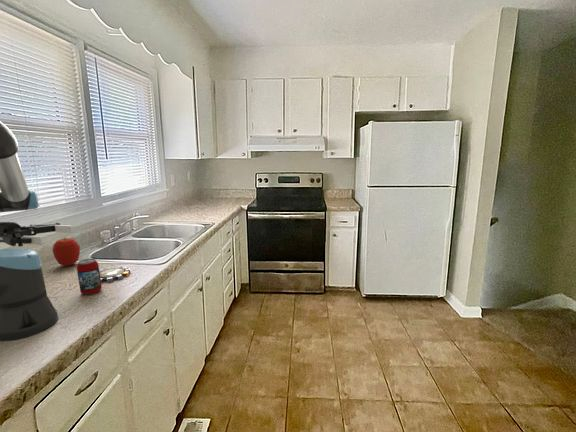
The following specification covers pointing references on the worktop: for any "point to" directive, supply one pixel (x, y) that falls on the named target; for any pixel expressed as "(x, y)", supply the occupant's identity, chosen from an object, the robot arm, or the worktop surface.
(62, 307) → the worktop surface
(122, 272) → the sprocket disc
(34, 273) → the robot arm
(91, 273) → the beverage can
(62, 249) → the apple
